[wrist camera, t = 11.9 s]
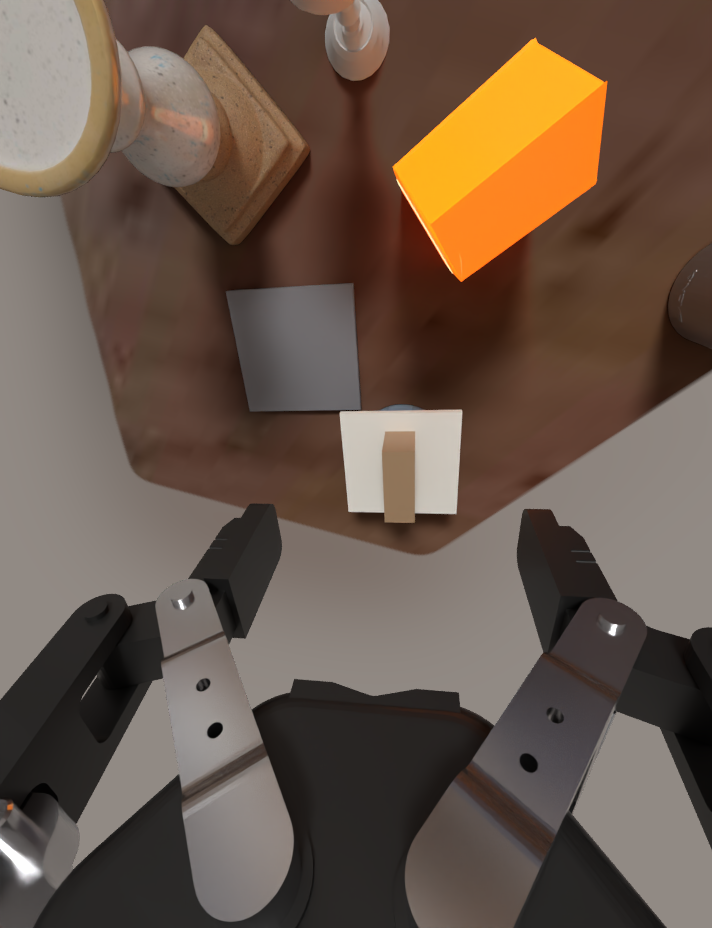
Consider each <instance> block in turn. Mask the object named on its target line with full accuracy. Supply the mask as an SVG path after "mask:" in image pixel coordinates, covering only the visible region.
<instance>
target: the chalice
mask: <svg viewBox="0 0 712 928" xmlns="http://www.w3.org/2000/svg"><path fill="white" fill-rule="evenodd" d="M290 1H291V2H292V3H293V4H294V5H295V6H297V7H298V8H299V9H300V10H303V11H306V12H309V13H312V14H316V15H328V14H330V16H329V18H328V21H327V26H326V31H325V47H326V51H327V55H328V58H329V61H330V63H331V64H332V66H333V68H334V69H335V71H336V72H338V73H339V74H340V75H341V76H342V77H343V78H346V79H349V80H351V81H357V80H363V79H365V78H367V77H369V76H371V75H372V74H373V73H374V72H375V71H376V70H377V69H378V68H379V67H380V65H381V63H382V62H383V60H384V58H385V56H386V52H387V48H388V45H389V24H388V20H387V15H386V13H385V11H384V9H383V7H382V5H381V3H380V2H379V1H378V0H290Z"/></svg>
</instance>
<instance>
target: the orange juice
mask: <svg viewBox="0 0 712 928" xmlns="http://www.w3.org/2000/svg"><path fill="white" fill-rule="evenodd" d="M606 88H607V81H606V82H603V81H601V80H599V79H598V78H596V77H594V76H593V75H591V74H589V73H588V72H586V71H584V70H582V69H581V68H579V67H577V66H576V65H574V64H572V63H571V62H569V61H567V60H566V59H564V58H562V57H560V56H559V55H557V54H555V53H554V52H552V51H550V50H549V49H547V48H545V47H543V46H542V45H540V44H538V43H537V40H536V38H535V39H534V40H531V41H530V42H529V43H528V44H527V45H526V46H525V47H523V48H522V49H521V50H520V51H519V52H518V53H517V54H516V55H515V56H514V57H513V58H511V59H510V60H509V61H508V62H507V63H506V64H505V65H504V66H503V67H502V68H500V69H499V70H498V71H497V72H496V73H495V74H494V75H493V76H492V77H491V78H490V79H488V80H487V81H486V82H485V83H484V84H483V85H482V86H481V87H480V88H479V89H477V90H476V91H475V92H474V93H473V94H472V95H471V96H470V97H469V98H468V99H467V100H465V101H464V102H463V103H462V104H461V105H460V106H459V107H458V108H457V109H456V110H454V111H453V112H452V113H451V114H450V115H449V116H448V117H447V118H446V119H445V120H444V121H442V122H441V123H440V124H439V125H438V126H437V127H436V128H435V129H434V130H433V131H431V132H430V133H429V134H428V135H427V136H426V137H425V138H424V139H423V140H422V141H421V142H419V143H418V144H417V145H416V146H415V147H414V148H413V149H412V150H411V151H410V152H408V153H407V154H406V155H405V156H404V157H403V158H402V159H401V160H400V161H399V162H398V163H396V164H395V165H394V166H393V170H394V172H395V175H396V177H397V182H398V184H399V186H400V188H401V191H402V192H403V194H404V196H405V197H406V199H407V201H408V202H409V204H410V206H411V207H412V209H413V211H414V212H415V214H416V216H417V217H418V219H419V221H420V222H421V224H422V226H423V227H424V229H425V231H426V232H427V234H428V236H429V237H430V239H431V241H432V243H433V244H434V246H435V248H436V249H437V251H438V253H439V254H440V256H441V258H442V259H443V261H444V263H445V264H446V266H447V267H448V268H449V270H450V271H451V272H452V274H454V275H455V276H456V277H457V278H458V279H459V280H460V281H461V282H462V281H463V280H464V279H466V278H467V277H469V276H470V275H471V274H473V273H474V272H475V271H477V270H478V269H480V268H481V267H482V266H484V265H485V264H486V263H488V262H489V261H491V260H492V259H493V258H495V257H496V256H497V255H499V254H500V253H501V252H503V251H504V250H506V249H507V248H508V247H510V246H511V245H512V244H514V243H515V242H517V241H518V240H519V239H521V238H522V237H523V236H525V235H526V234H528V233H529V232H530V231H532V230H533V229H534V228H536V227H537V226H539V225H540V224H541V223H543V222H544V221H545V220H547V219H548V218H550V217H551V216H552V215H554V214H555V213H556V212H558V211H559V210H561V209H562V208H563V207H565V206H566V205H567V204H569V203H570V202H572V201H573V200H574V199H576V198H577V197H578V196H580V195H581V194H583V193H584V192H585V191H587V190H588V189H589V188H591V187H592V186H593V185H595V184H596V180H597V179H596V178H597V169H598V160H599V151H600V142H601V133H602V124H603V115H604V106H605V97H606Z"/></svg>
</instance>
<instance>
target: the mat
mask: <svg viewBox="0 0 712 928" xmlns="http://www.w3.org/2000/svg"><path fill="white" fill-rule="evenodd" d="M226 295H227V300H228V305H229V310H230V315H231V320H232V325H233V330H234V335H235V340H236V345H237V350H238V355H239V360H240V365H241V370H242V375H243V380H244V385H245V390H246V395H247V400H248V404H249V409H250V411H312V410H361V392H360V376H359V361H358V345H357V329H356V314H355V298H354V283H343V284H326V285H310V286H293V287H276V288H260V289H243V290H228V291H226Z"/></svg>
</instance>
